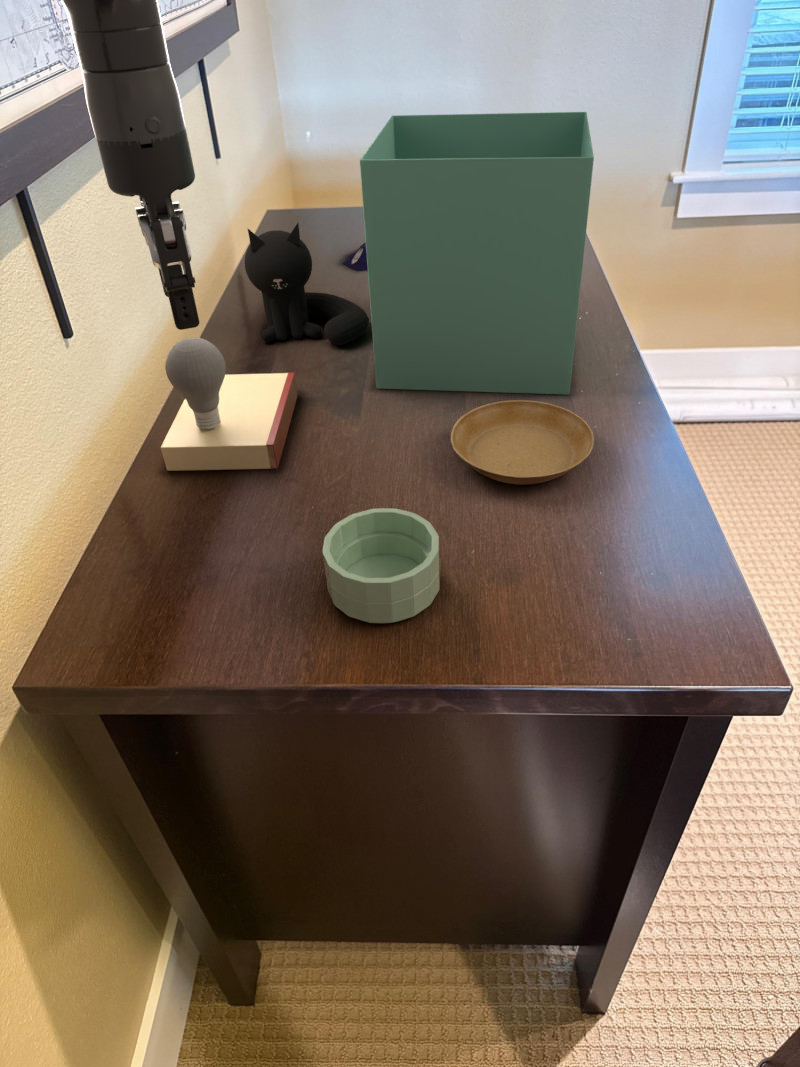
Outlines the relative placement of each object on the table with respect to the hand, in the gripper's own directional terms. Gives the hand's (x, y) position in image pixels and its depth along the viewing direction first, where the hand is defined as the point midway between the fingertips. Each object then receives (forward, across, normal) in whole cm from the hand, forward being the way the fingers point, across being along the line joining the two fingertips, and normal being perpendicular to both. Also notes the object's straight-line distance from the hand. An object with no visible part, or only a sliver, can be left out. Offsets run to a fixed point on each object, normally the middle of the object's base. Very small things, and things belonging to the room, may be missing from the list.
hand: (181, 310), depth 76 cm
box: (+16, -9, +36) cm, 41 cm away
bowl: (+16, +28, +10) cm, 34 cm away
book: (+16, -3, +3) cm, 17 cm away
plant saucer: (+16, +15, +30) cm, 37 cm away
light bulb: (+13, 0, 0) cm, 13 cm away
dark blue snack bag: (+16, -49, +37) cm, 64 cm away
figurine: (+16, -25, +18) cm, 35 cm away
